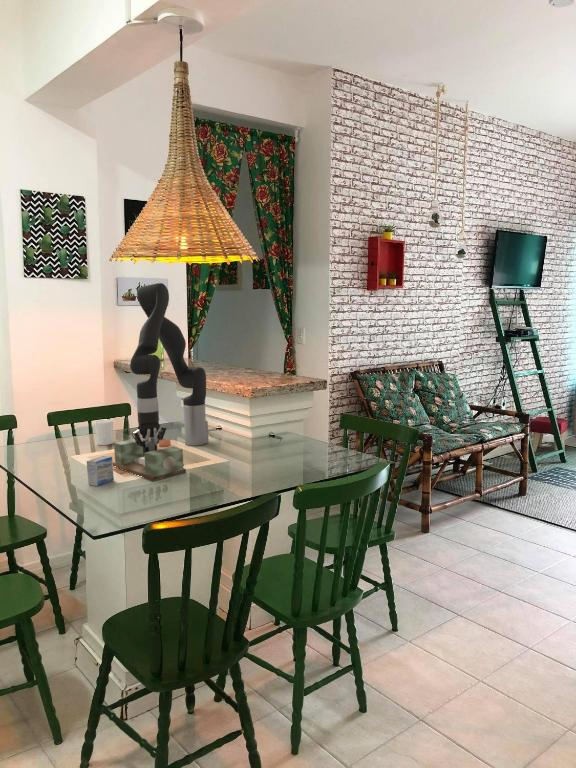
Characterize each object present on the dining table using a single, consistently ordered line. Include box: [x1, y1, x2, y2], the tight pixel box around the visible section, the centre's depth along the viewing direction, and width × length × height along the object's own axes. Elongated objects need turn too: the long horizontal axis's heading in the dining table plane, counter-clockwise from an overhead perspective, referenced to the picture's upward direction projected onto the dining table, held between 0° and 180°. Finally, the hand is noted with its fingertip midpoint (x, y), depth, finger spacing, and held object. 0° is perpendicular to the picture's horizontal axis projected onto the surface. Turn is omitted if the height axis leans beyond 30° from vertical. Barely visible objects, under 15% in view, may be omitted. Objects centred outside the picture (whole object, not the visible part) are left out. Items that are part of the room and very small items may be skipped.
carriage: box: [139, 439, 155, 466], centre depth 232 cm, size 8×6×9 cm
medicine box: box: [86, 455, 115, 487], centre depth 220 cm, size 8×4×9 cm, turn 151°
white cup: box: [94, 419, 114, 446], centre depth 278 cm, size 8×8×10 cm
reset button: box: [158, 438, 172, 448], centre depth 225 cm, size 4×4×2 cm
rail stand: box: [113, 437, 187, 482], centre depth 235 cm, size 14×28×9 cm, turn 43°
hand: (150, 455), depth 233 cm, fingers closed on carriage, 2 cm apart
